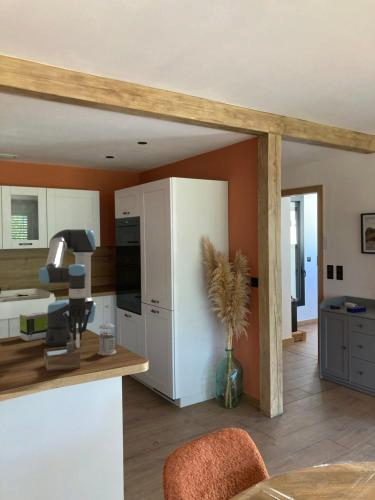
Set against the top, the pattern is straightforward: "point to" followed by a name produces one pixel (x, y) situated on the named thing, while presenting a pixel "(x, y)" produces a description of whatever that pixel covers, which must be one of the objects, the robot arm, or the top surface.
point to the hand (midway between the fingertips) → (77, 346)
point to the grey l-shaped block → (69, 350)
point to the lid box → (61, 360)
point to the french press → (106, 340)
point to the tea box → (33, 325)
